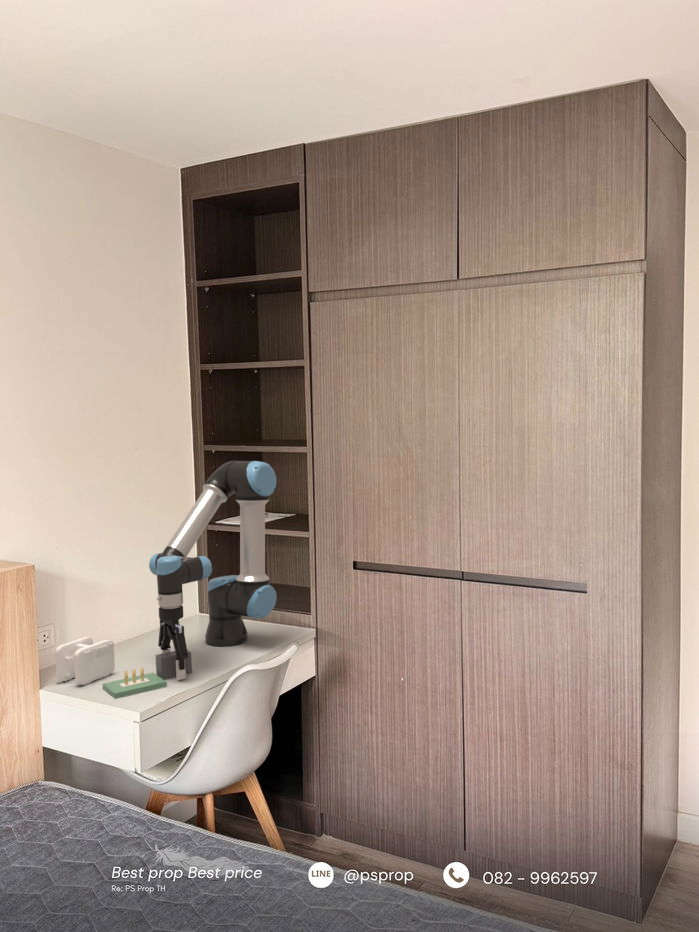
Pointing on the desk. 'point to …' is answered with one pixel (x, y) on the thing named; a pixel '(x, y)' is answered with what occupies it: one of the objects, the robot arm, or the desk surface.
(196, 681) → the desk surface
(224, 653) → the desk surface
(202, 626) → the desk surface
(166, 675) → the block
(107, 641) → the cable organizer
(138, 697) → the desk surface
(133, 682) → the board
